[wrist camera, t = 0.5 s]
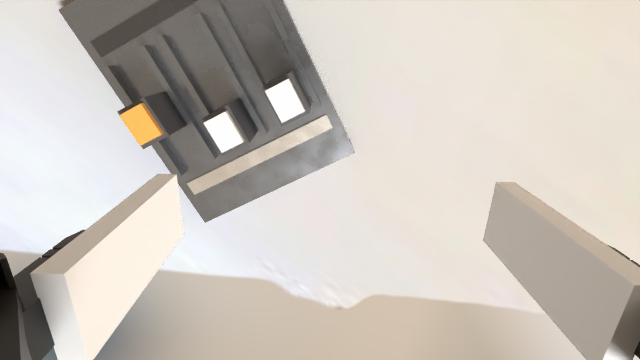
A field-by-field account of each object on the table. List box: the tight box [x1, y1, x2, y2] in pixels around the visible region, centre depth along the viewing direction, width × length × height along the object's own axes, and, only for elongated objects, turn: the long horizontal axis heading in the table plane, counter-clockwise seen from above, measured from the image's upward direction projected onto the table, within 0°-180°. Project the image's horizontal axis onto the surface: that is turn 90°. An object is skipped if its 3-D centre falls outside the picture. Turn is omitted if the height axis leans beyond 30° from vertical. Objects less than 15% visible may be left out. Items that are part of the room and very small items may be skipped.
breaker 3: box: [261, 69, 311, 126], centre depth 34 cm, size 4×3×6 cm
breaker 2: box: [200, 98, 258, 156], centre depth 35 cm, size 4×3×6 cm
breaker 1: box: [118, 91, 187, 149], centre depth 34 cm, size 4×3×6 cm
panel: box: [59, 0, 355, 222], centre depth 36 cm, size 26×20×2 cm
